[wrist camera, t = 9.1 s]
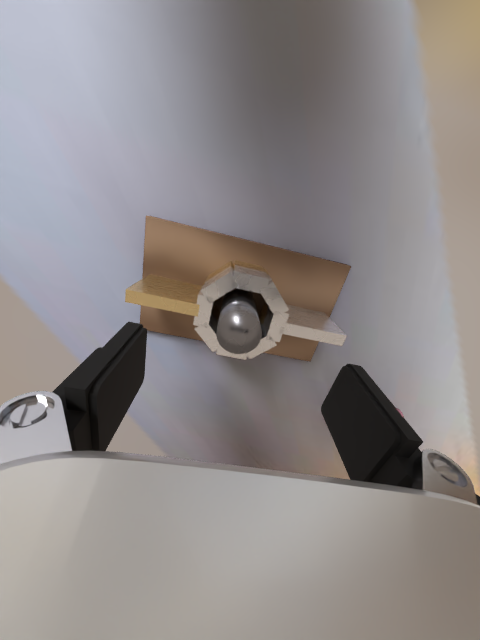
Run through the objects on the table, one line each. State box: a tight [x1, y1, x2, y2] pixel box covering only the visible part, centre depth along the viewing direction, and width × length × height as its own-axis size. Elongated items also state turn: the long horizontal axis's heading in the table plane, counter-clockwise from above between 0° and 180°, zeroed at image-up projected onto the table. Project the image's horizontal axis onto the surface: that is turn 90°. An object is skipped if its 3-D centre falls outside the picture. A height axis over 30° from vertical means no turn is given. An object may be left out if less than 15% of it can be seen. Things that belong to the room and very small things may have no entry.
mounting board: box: [140, 216, 351, 361], centre depth 22 cm, size 11×19×1 cm, turn 77°
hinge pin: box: [216, 288, 262, 354], centre depth 18 cm, size 3×3×8 cm
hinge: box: [125, 260, 347, 360], centre depth 20 cm, size 7×18×5 cm, turn 77°
